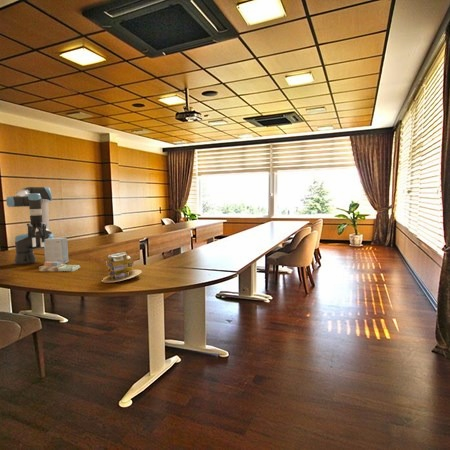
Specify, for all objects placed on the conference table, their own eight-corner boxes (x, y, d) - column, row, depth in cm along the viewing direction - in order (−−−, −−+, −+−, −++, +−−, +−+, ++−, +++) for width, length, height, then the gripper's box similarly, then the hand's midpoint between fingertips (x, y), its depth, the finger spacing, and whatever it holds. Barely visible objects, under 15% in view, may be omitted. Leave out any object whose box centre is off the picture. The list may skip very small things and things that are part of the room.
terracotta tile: (44, 266, 221) (44, 262, 221) (48, 264, 226) (48, 261, 225) (50, 266, 221) (49, 262, 221) (54, 264, 225) (54, 261, 225)
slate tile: (51, 266, 221) (51, 262, 220) (55, 264, 225) (55, 261, 225) (57, 266, 220) (57, 262, 220) (61, 264, 225) (61, 261, 224)
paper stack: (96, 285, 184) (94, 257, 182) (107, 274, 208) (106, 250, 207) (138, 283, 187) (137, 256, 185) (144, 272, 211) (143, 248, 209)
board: (39, 271, 219) (38, 267, 219) (48, 267, 229) (48, 263, 229) (57, 271, 218) (57, 267, 217) (66, 268, 227) (65, 264, 227)
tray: (57, 271, 218) (57, 268, 217) (66, 268, 227) (66, 264, 227) (72, 271, 216) (72, 268, 216) (80, 268, 226) (80, 265, 226)
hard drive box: (69, 262, 246) (67, 237, 244) (63, 264, 239) (61, 239, 237) (51, 262, 248) (49, 237, 246) (44, 264, 240) (42, 239, 238)
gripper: (20, 215, 218) (22, 247, 220) (44, 215, 216) (46, 247, 218) (27, 214, 225) (30, 245, 227) (51, 214, 223) (53, 245, 225)
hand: (38, 246), depth 223 cm, fingers open, 6 cm apart
